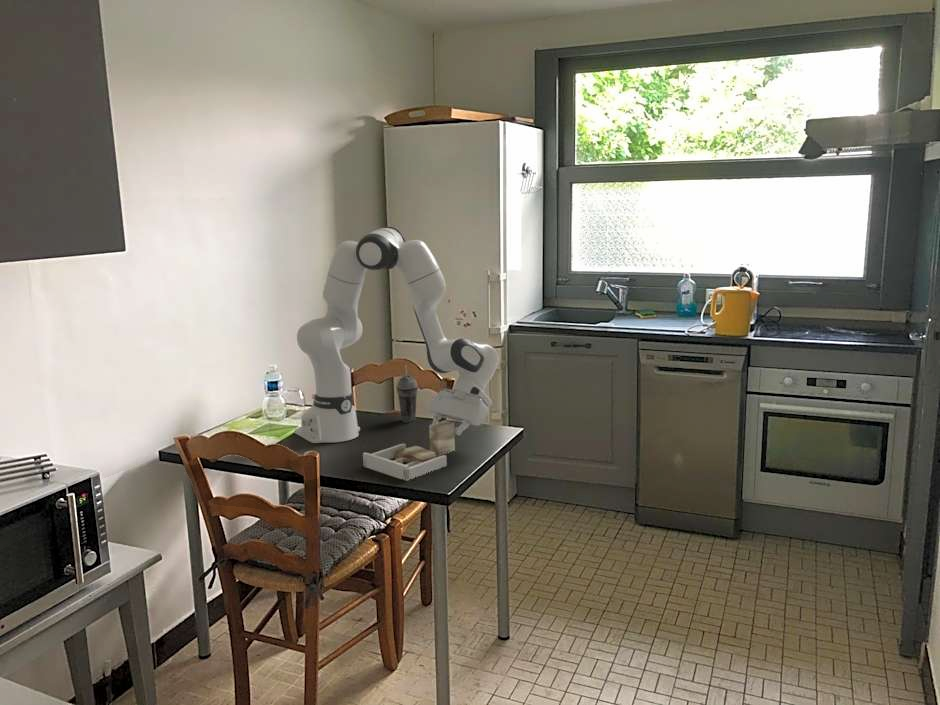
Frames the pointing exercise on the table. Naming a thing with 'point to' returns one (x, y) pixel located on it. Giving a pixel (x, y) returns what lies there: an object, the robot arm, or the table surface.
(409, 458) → the offcut stack
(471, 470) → the table surface
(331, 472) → the table surface
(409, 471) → the tray
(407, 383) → the beverage cup
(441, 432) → the pale wooden block
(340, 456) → the table surface
